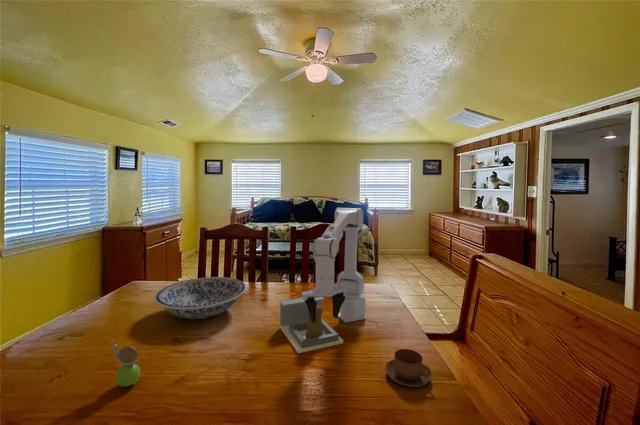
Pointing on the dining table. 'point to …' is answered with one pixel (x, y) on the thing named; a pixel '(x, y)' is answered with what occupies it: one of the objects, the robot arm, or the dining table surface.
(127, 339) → the dining table surface
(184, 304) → the ceramic bowl
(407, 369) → the cup and saucer
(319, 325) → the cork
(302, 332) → the socket block
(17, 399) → the dining table surface
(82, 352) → the dining table surface
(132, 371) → the snail figurine
